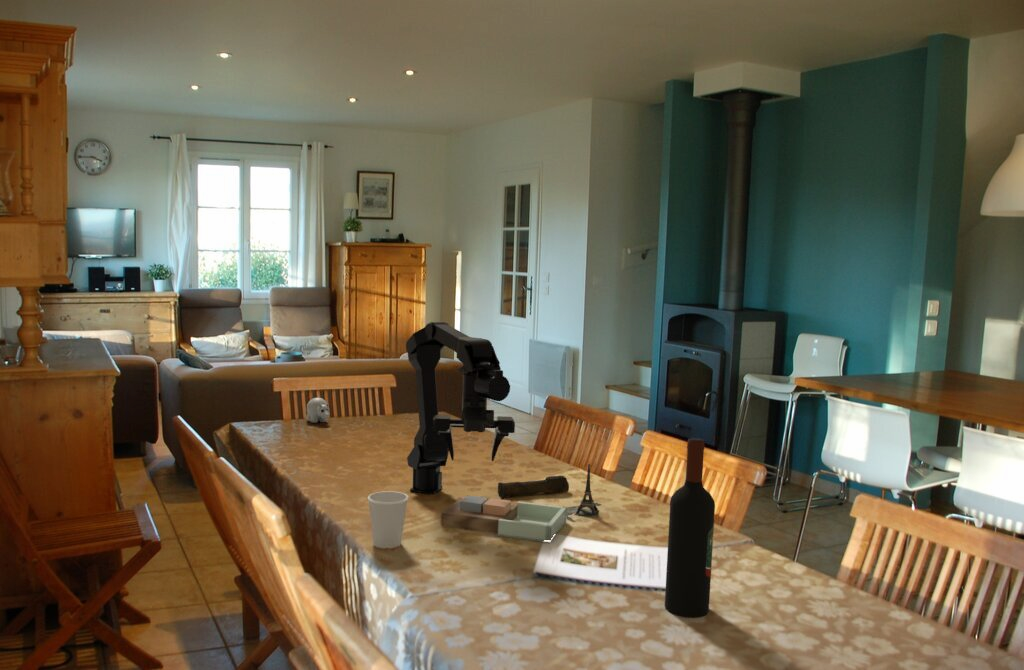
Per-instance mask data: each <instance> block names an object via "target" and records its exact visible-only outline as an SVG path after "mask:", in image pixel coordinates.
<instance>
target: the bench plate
mask: <svg viewBox="0 0 1024 670" xmlns="http://www.w3.org/2000/svg"><path fill="white" fill-rule="evenodd" d="M462 499H463V498H459V499H458V500H456V501H455V502H454V503H452V504H451V505H450V506H449V507H447V508H446V509H444V510H443V511H442V512H441V519H440V526H441V527H446V528H453V529H455V528H456V529H461V530H469V531H474V532H475V531H476V532H482V533H484V532H485V533H491V534H497V535H498V522H499V519H505V520H514V519H515V518H516V517H517V504H511V510H510V511H509V512H508V513H507V514H506V515H505V516H503V515H495V514H487V513H483V511H482V512H481V513H479V512H472V511H464V510H460V501H461V500H462Z"/></svg>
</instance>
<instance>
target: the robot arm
mask: <svg viewBox="0 0 1024 670" xmlns="http://www.w3.org/2000/svg"><path fill="white" fill-rule="evenodd" d="M445 347H447V348H448V349H450V350H452V351H454V352H455V353H456V355H455V356H456V358H457V359H456V360H458V361H459V362H460V363H461V364H463V365H462V366H461V367H459V369H458V372H459V373H462V374H463V375H462V398H461V399H462V400H461V418H451V414H439V406H438V394H437V393H438V392H437V377H436V368H437V367H438V364H439V362H440V360H441V358H442V357H441V356H442V355H441V352H442V350H443V349H444V348H445ZM405 349H406V353H407V358H408V361H409V363H410V365H411V366H412V367H413V369H414V370H415V378H416V380H415V381H416V395H417V409H418V422H419V423H418V424H419V425H418V426H419V428H418V431H417V432H416V434H415V436H414V438H413V447H412V449H411V451H410V453H409V454H408V455H407V457H406V460H407V466H408V467H410V468H411V469H412V487H411V488H410V489H409V491H410V492H415V493H424V494H431V495H433V494H436V493H437V492H438V491H440V490H441V489H443V484H442V483H443V472H442V471H441V467H446V465H447V463H448V462H447V461H448V457H449V456H448V455H450V459H451V461H454V455H455V453H454V452H455V451H454V443H453V442H454V441H453V430H452V428H463V432H466V433H471V432H478V433H484V432H485V431H486V429H494V435H493V442H492V446H491V447H492V448H491V449H492V450H491V462H494V461H495V458H496V455H497V453H498V449H499V447H500V444H501V442H502V441H503V439H504V438H505V437H509V435H510V434H514V433H515V432H516V431H515V429H516V422H515V419H514V418H513V417H512V416H503V415H502V416H501V415H499V416H498V415H497V416H496V419H495V410H493V409H488V400H491V401H494V402H502V401H503V400H505V399H506V398H508V396H509V394H510V390H511V385H510V382H509V380H508V378H507V377H505V376H504V371H503V370H502V369H501V366H500V361H499V358H498V357H497V354H496V351H495V348H494V346H493V343H492V341H490V340H489V339H486V338H481V337H472V336H469V335H467V334H466V333H463V332H461V331H460V330H458V329H456V328H454V327H453V326H451V325H450V324H449V323H448V322H445V321H430V322H428V323H427V324H426V325H425V326H424V327H423V328H420V329H419V330H417V331H416V332H413V333H412V334H411V336H410V337H409V338H408V340H407V341H406V344H405Z"/></svg>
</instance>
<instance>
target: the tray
mask: <svg viewBox="0 0 1024 670" xmlns="http://www.w3.org/2000/svg"><path fill="white" fill-rule="evenodd" d="M516 505H517V517H516V518H515V519H514V520H505V519H499V522H498V534H497V536H498V537H503V538H509V539H510V538H511V539H517V540H518V539H519V540H525V541H532V542H539V543H544V542H543V541H544V540H551V538H552V537H553V535H554V534H556V535H558V534H559V532H560V530H562V528H563V527H564V526H565V524H566V523H567V519H566V517H567V516H566V512H567V506H566V507H565V506H560V505H559V506H558V505H549V504H541V503H533V502H525V501H517V502H516Z"/></svg>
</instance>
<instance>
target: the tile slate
mask: <svg viewBox="0 0 1024 670" xmlns="http://www.w3.org/2000/svg"><path fill="white" fill-rule="evenodd" d="M461 499H462V500H461V501H460V510H464V511H472V512H479V513H481V512H482V511H483V504H484V503H485V502H486V501H488V500H489V498H488V497H483V496H477V495H476V496H475V495H466V496H464V498H461Z"/></svg>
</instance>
